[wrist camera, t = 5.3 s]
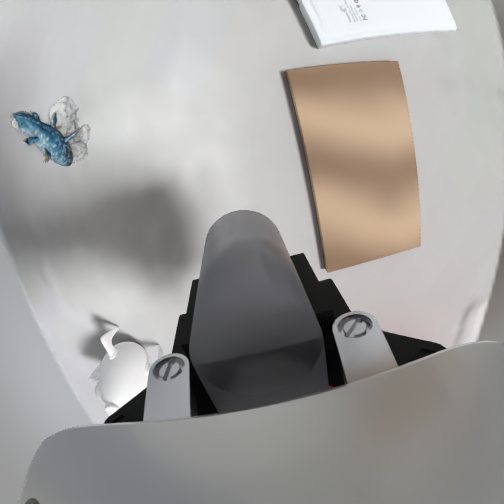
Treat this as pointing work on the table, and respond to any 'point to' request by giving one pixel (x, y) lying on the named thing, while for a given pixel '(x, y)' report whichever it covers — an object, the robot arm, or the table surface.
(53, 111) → the sculpture
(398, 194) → the wood pad
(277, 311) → the connector
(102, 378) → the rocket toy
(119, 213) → the table surface
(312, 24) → the external hard drive
